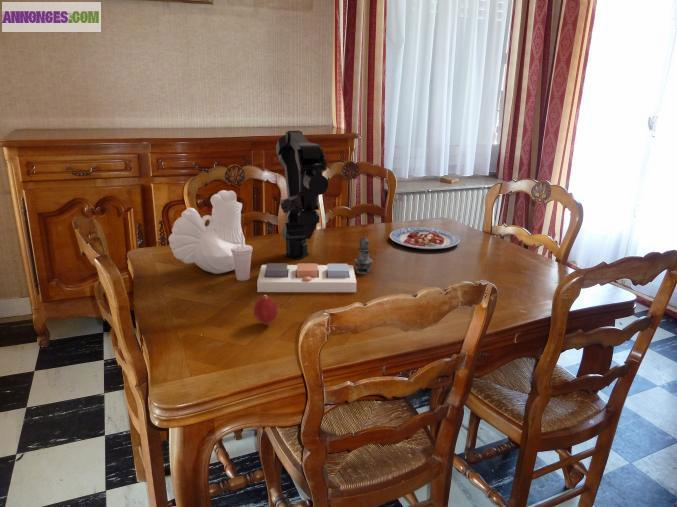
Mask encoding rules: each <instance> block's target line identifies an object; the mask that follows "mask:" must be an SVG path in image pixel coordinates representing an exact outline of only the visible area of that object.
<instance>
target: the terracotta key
mask: <svg viewBox="0 0 677 507" xmlns="http://www.w3.org/2000/svg"><path fill="white" fill-rule="evenodd" d="M296 265H297V278H303V277H306V276H308V277H311V278H318V265H319V264H318V263H311V262H310V263H308V262H307V263H299V262H298V263H297V264H296Z"/></svg>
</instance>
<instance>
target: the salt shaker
mask: <svg viewBox="0 0 677 507" xmlns="http://www.w3.org/2000/svg"><path fill="white" fill-rule="evenodd" d="M369 246H370V239H369V238H368V237H366V235H365V234H364V235H363V237H362V238H360V239H359V248H358V257H356V258H355V259H354V264H355V267H356V268H355V269H354V273H356V272H357V274H358V273H360V274H359V275H369V274H371V273H372V269H370V268H371V267H372V263H373V262H374V261H373V259H372V258H370V256H369V255H370V254H369V252H370V248H369ZM368 273H369V274H368Z"/></svg>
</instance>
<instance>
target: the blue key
mask: <svg viewBox="0 0 677 507" xmlns="http://www.w3.org/2000/svg"><path fill="white" fill-rule="evenodd" d="M326 265H327V275H328V278H349V269H348V265H349V264H348V263H327V264H326Z"/></svg>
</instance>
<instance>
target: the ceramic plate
mask: <svg viewBox="0 0 677 507" xmlns="http://www.w3.org/2000/svg"><path fill="white" fill-rule="evenodd" d="M389 238H390V239H391V240H392V241H393V242H395V243H397V244H399V245H403V246H406V247H409V248H412V249H413V248H414V249H418V250H438V249H447V248H451V247H454V246H456V245H457V244H459V243H460V238H459V236H457V235H456V234H454V233H453V232H450V231H446V230H443V229H439V228H432V227H431V228H430V227H414V226H413V227H402V228H398V229H396V230H393V231H392V232H390V234H389Z"/></svg>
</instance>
